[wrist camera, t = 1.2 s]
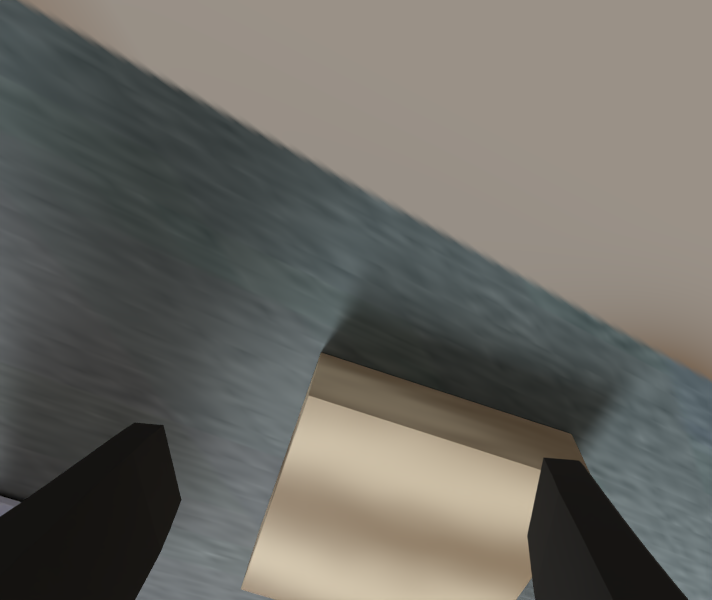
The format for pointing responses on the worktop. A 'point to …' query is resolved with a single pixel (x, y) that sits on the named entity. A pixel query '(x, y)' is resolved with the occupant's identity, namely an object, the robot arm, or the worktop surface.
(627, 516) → the worktop surface
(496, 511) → the birch plinth
